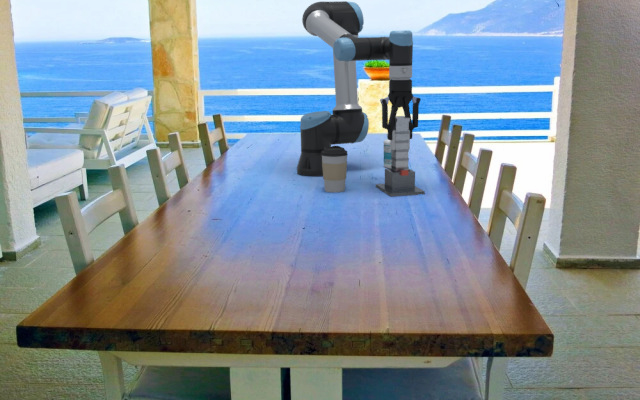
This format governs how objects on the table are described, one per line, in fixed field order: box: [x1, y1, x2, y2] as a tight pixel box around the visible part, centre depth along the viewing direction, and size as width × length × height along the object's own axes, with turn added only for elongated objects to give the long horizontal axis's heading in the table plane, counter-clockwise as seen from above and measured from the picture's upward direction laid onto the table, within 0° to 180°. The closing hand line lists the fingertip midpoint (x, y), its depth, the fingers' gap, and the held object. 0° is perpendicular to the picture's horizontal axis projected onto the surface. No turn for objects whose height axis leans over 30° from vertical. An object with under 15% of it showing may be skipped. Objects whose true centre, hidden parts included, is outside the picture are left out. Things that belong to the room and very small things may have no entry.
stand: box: [375, 168, 426, 197], centre depth 233 cm, size 12×16×8 cm
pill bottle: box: [383, 133, 392, 169], centre depth 275 cm, size 8×7×14 cm
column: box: [390, 115, 410, 172], centre depth 231 cm, size 4×6×21 cm
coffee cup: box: [321, 145, 348, 193], centre depth 235 cm, size 9×9×15 cm
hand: (399, 149), depth 231 cm, fingers closed on column, 4 cm apart
